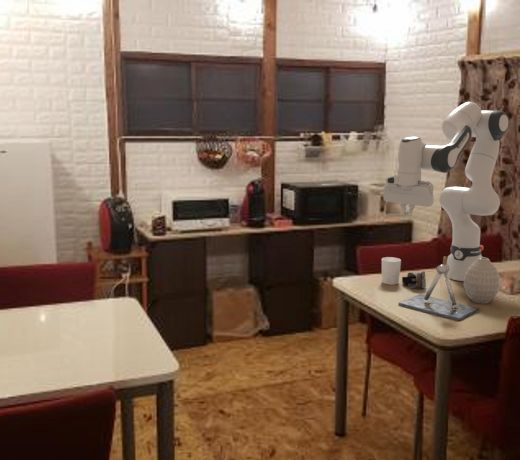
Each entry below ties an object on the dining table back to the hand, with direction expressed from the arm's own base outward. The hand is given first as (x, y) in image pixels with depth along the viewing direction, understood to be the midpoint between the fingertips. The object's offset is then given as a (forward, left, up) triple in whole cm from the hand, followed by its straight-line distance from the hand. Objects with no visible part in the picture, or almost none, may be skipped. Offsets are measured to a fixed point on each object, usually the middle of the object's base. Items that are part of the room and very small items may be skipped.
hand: (407, 215), depth 232 cm
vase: (-12, +26, -31) cm, 42 cm away
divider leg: (+8, +14, -29) cm, 33 cm away
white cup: (-9, -12, -31) cm, 35 cm away
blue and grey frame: (+7, +19, -31) cm, 37 cm away
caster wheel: (-11, -3, -31) cm, 34 cm away
